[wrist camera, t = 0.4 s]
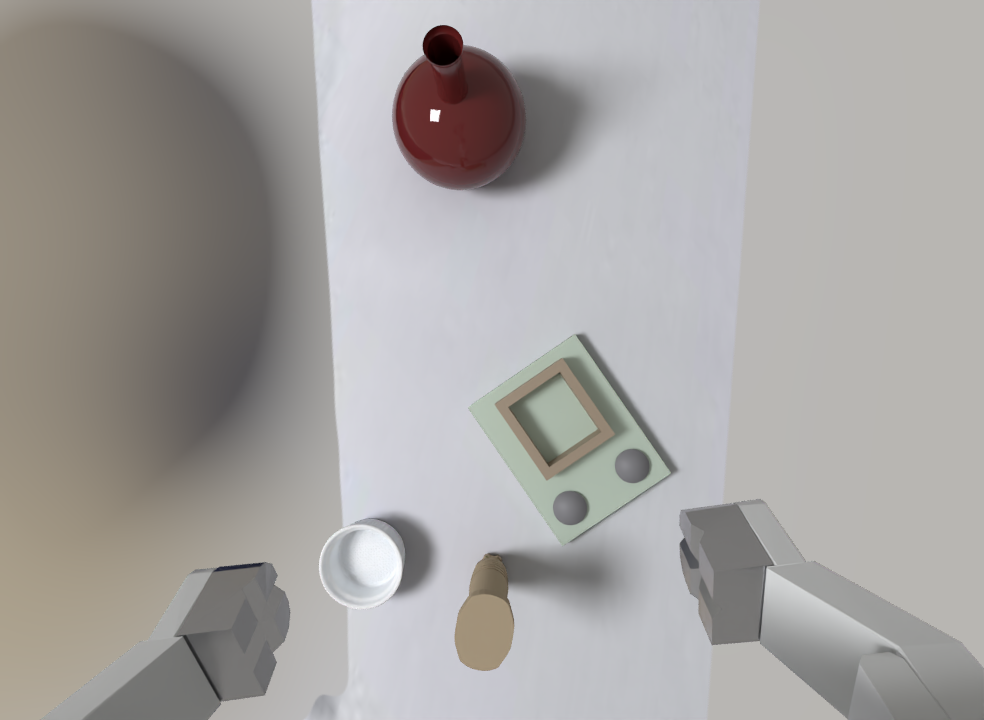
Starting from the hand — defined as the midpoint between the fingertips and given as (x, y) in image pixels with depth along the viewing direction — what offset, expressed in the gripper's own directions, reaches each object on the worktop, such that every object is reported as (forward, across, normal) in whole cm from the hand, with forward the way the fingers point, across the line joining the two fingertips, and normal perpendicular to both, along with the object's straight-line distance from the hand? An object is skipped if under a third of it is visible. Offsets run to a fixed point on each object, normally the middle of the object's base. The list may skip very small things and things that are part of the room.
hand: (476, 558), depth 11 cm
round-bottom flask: (+58, -1, +3) cm, 58 cm away
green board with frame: (+44, +5, -27) cm, 52 cm away
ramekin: (+39, -18, -36) cm, 56 cm away
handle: (+38, -5, -39) cm, 55 cm away
